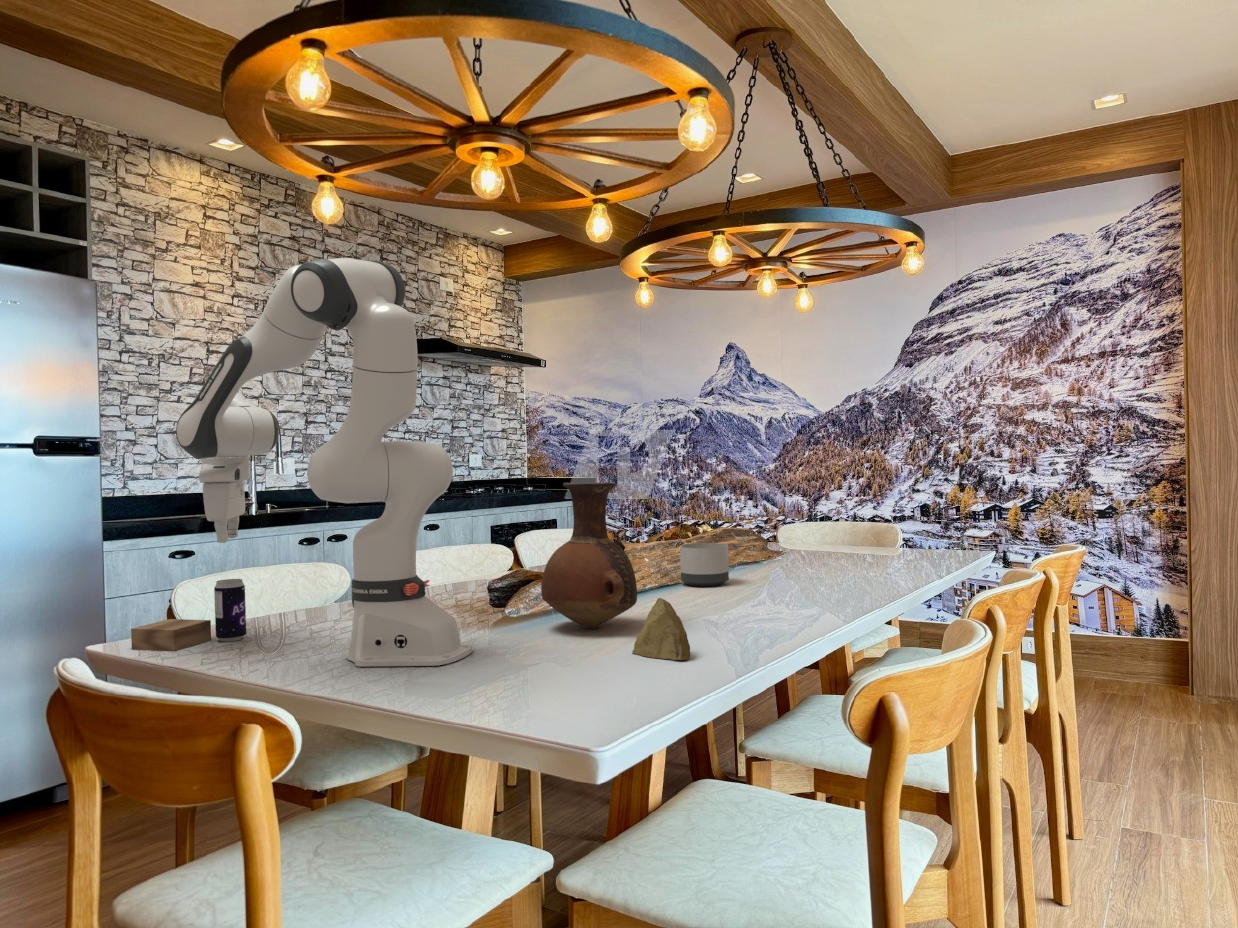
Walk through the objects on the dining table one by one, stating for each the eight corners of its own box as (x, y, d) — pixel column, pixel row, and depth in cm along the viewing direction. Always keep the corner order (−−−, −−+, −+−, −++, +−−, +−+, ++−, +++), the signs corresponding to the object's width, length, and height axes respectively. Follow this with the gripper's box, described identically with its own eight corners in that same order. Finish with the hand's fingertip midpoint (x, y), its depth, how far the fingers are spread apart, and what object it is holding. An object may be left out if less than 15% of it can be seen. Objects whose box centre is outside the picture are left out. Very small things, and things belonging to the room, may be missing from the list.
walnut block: (211, 639, 178) (210, 620, 177) (174, 650, 168) (173, 630, 168) (170, 638, 180) (169, 618, 180) (131, 649, 170) (131, 628, 170)
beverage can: (234, 642, 174) (233, 582, 174) (209, 642, 175) (207, 582, 175) (252, 636, 180) (250, 578, 180) (227, 636, 181) (226, 578, 181)
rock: (708, 646, 149) (688, 627, 159) (680, 610, 147) (662, 593, 156) (659, 687, 148) (642, 666, 157) (630, 652, 145) (615, 632, 155)
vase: (665, 629, 175) (661, 480, 175) (582, 644, 164) (577, 485, 164) (597, 613, 196) (593, 479, 195) (518, 625, 184) (514, 483, 184)
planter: (678, 588, 229) (677, 548, 229) (683, 580, 242) (682, 543, 241) (727, 588, 227) (726, 547, 227) (729, 580, 239) (728, 542, 239)
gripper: (220, 471, 186) (222, 536, 187) (196, 473, 166) (198, 546, 167) (251, 470, 188) (253, 534, 188) (232, 472, 168) (234, 544, 168)
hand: (227, 540), depth 177 cm, fingers open, 8 cm apart
